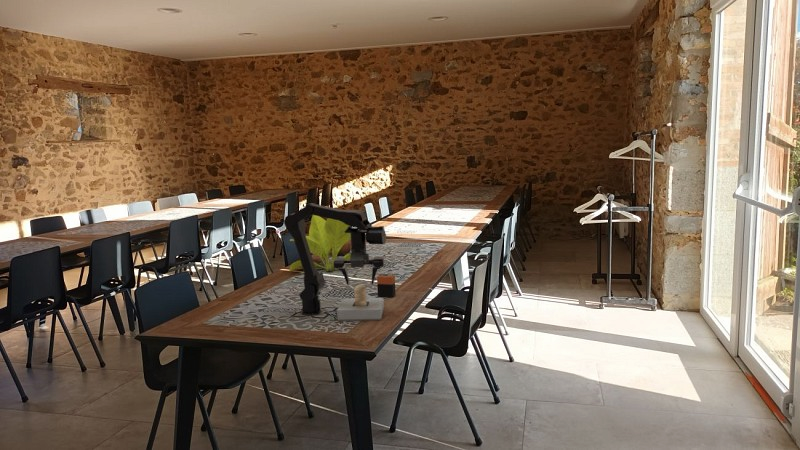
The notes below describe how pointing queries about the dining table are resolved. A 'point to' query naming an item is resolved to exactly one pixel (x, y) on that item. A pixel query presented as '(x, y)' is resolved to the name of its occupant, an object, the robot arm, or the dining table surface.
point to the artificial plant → (325, 240)
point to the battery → (386, 285)
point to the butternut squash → (345, 248)
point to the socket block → (360, 310)
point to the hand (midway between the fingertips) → (360, 284)
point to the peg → (360, 296)
